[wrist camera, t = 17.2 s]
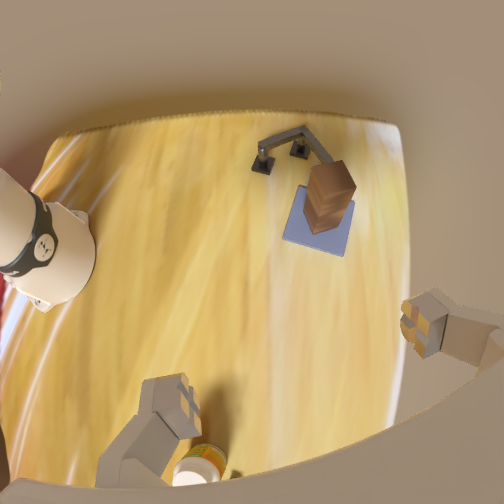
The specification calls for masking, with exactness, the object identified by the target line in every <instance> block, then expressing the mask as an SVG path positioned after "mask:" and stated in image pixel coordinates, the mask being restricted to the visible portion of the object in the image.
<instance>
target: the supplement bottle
mask: <svg viewBox="0 0 504 504" xmlns="http://www.w3.org/2000/svg"><path fill="white" fill-rule="evenodd" d="M226 466H227V459H226V456H225V454H224V453H223V452H222V450H221V449H219V448H218V447H216V446H214V445H211V444H199V445H196V446H194V447H193V448H192V449H190V451H189V452H188V453H187V454H186V455H185V456H184V457H183V458H182V459H181V460H180V461H179V462H178V463H177V465H176V466H175V468H174V473H173V474H174V478H173V487H174V486H185V485H194V484H202V483H209V482H216V481H221V478H222V476H223V474H224V471H225V469H226Z"/></svg>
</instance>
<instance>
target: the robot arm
mask: <svg viewBox="0 0 504 504" xmlns="http://www.w3.org/2000/svg"><path fill="white" fill-rule="evenodd" d="M0 93H1V71H0ZM94 261H95V244H94V240H93V237H92V235H91V233H90V230H89V219H88V214H87V213H85V212H84V211H78V210H68V209H67V208H65V207H64V206H63V205H61V204H60V203H59V202H55V203H53V202H47V203H45V202H44V201H43V200H42V199H41V198H40V197H39V196H37V195H36V194H34V193H32V192H31V191H26V190H25V189H24V188H22V187H21V186H20V185H19V184H18V183H17V182H16V181H15V180H14V179H12V177H10V176H9V175H8V174H7V173H6V172H5V171H4V170H3V169H2V168H0V272H1V273H3V274H5V275H4V279H5V280H6V281H7V282H9V283H10V284H11V285H12V287H14V288H15V289H17V290H18V291H20V292H22V293H24V294H25V295H26V296H27V297H28V298H29V299H30V300H31V302H32V303H33V304H34V305H35V306H36V307H37V308H38V310H40V311H41V312H43V313H46V312H48V311H49V310H51V309H52V308H53V307H54V306H55V305H57V304H59V303H63V302H66V301H68V300H70V299H72V298H73V297H75V296H76V295H77V294H78V293H79V292H80V291H81V290H82V289H83V287H84V286H85V285H86V283H87V281H88V279H89V277H90V275H91V272H92V270H93V266H94ZM40 301H41V302H40ZM401 311H402V312H403V313H404V314H403V316H402V318H401V319H400V327H401V331H402V334H403V336H404V337H405V339H406V340H407V341H408V342H411V343H414V349H415V350H416V352H417V353H418V354H419V355H420V356H421V357H422V359H425V358H427V357H429V356H431V355H433V354H435V353H437V352H438V351H440V350H441V351H440V352H443V353H445V354H448V355H450V356H452V357H454V358H457V359H459V360H461V361H464V362H466V363H468V364H471V365H473V366H475V367H478V369H477V371H476V374H475V376H474V379H472V380H471V381H469V382H468V383H467V384H465V385H463V386H462V387H461V388H459V389H457V390H456V391H454V392H453V393H451V394H450V395H448V396H446V397H445V398H443V399H441V400H440V401H438V402H437V403H435V404H433V405H431V406H430V407H428V408H426V409H424V410H422V411H421V412H419V413H417V414H415V415H413V416H411V417H410V418H408V419H406V420H404V421H402V422H400V423H398V424H396V425H394V426H392V427H390V428H388V429H385V430H383V431H381V432H379V433H377V434H374V435H372V436H370V437H368V438H365V439H363V440H361V441H358V442H356V443H353V444H351V445H348V446H346V447H343V448H341V449H338V450H335V451H333V452H330V453H327V454H324V455H321V456H318V457H315V458H312V459H309V460H306V461H303V462H299V463H296V464H293V465H289V466H286V467H282V468H278V469H274V470H270V471H266V472H262V473H258V474H253V475H249V476H244V477H239V478H234V479H228V480H222V481H216V482H209V483H202V484H194V485H185V486H174V487H171V486H170V485H168V484H167V483H166V482H164V481H163V480H162V479H161V478H160V477H161V475H162V473H163V471H164V470H165V468H166V466H167V464H168V462H169V460H170V459H171V457H172V455H173V453H174V451H175V449H176V448H177V446H178V444H179V442H180V441H179V440H182V439H188V438H193V437H198V436H202V431H201V420H200V419H199V417H198V416H197V415H198V414H199V412H200V404H199V400H198V396H197V394H196V391H195V390H194V388H193V387H191V386H189V381H188V378H187V376H186V375H185V373H178V374H173V375H168V376H162V377H157V378H153V379H146V380H144V381H143V383H142V388H141V395H140V402H139V410H138V415H134V416H133V418H132V419H131V420H130V421H129V422H128V424H127V425H126V426H125V427H124V429H123V430H122V431H121V432H120V433H119V435H118V436H117V437H116V438H115V440H114V441H113V442H112V443H111V444H110V446H109V447H108V448H107V449H106V450H105V452H104V453H103V454H102V455H101V456H100V458H99V461H98V467H97V474H96V481H95V487H83V486H73V485H64V484H56V483H50V482H43V481H38V480H32V479H28V478H17V479H15V480H14V481H13V482H11V483H10V484H9V485H8V486H7V487H6V488H5V489H4V490H3V491H2V492H1V493H0V504H504V315H502V314H497V313H493V312H489V311H484V310H480V309H475V308H471V307H467V306H462V307H460V306H459V305H457V304H456V303H455V302H454V301H453V300H451V299H450V298H449V297H448V296H446V295H445V294H444V293H443V292H442V291H440V290H439V289H438V288H436V287H433V288H430V289H428V290H426V291H424V292H423V293H420V294H418V295H416V296H414V297H411V298H409V299H407V300H405V301H403V303H402V305H401Z"/></svg>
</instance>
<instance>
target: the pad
mask: <svg viewBox="0 0 504 504" xmlns="http://www.w3.org/2000/svg"><path fill="white" fill-rule="evenodd" d="M306 194H307V188H304V187H300V186H299V187H298V190H297V194H296V197H295V200H294V203H293V206H292V210H291V213H290V216H289V219H288V222H287V225H286V229H285V232H284V235H283V239H284V240H287V241H290V242H294V243H297V244H301V245H304V246H307V247H311V248H314V249H317V250H321V251H324V252H327V253H331V254H334V255H337V256H341V257H343V256H344V252H345V248H346V243H347V239H348V234H349V229H350V225H351V220H352V215H353V210H354V205H355V202H351V201H350V203H349V205H348V207H347V209H346V211H345V214H344V216H343V218H342V220H341V222H340V224H339V226H338V228H335V229H331V230H328V231H325V232H321V233H318V234H315V235H312V232H311V230H310V227H309V225H308V222H307V220H306V217H305V215H304V213H303V208H304V204H305V199H306Z"/></svg>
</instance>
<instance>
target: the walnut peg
mask: <svg viewBox="0 0 504 504" xmlns="http://www.w3.org/2000/svg"><path fill="white" fill-rule="evenodd" d="M356 188H357V187H356V185H355V183H354V181H353V179H352V177H351V175H350V173H349V172H348V170H347V168H346V166H345V164H344V162H343V161H342V160H340V161H336V162H331V163H327V164H322V165H318V166H314V167H312V169H311V174H310V179H309V184H308V189H307V194H306V199H305V204H304V208H303V213H304V215H305V217H306V220H307V222H308V225H309V227H310V230H311V232H312V235H315V234H318V233H321V232H325V231H328V230H331V229H335V228H338V226H339V224H340V222H341V220H342V218H343V216H344V214H345V211H346V209H347V207H348V205H349V203H350V201H351V199H352V196H353V194H354V192H355V190H356Z"/></svg>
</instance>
